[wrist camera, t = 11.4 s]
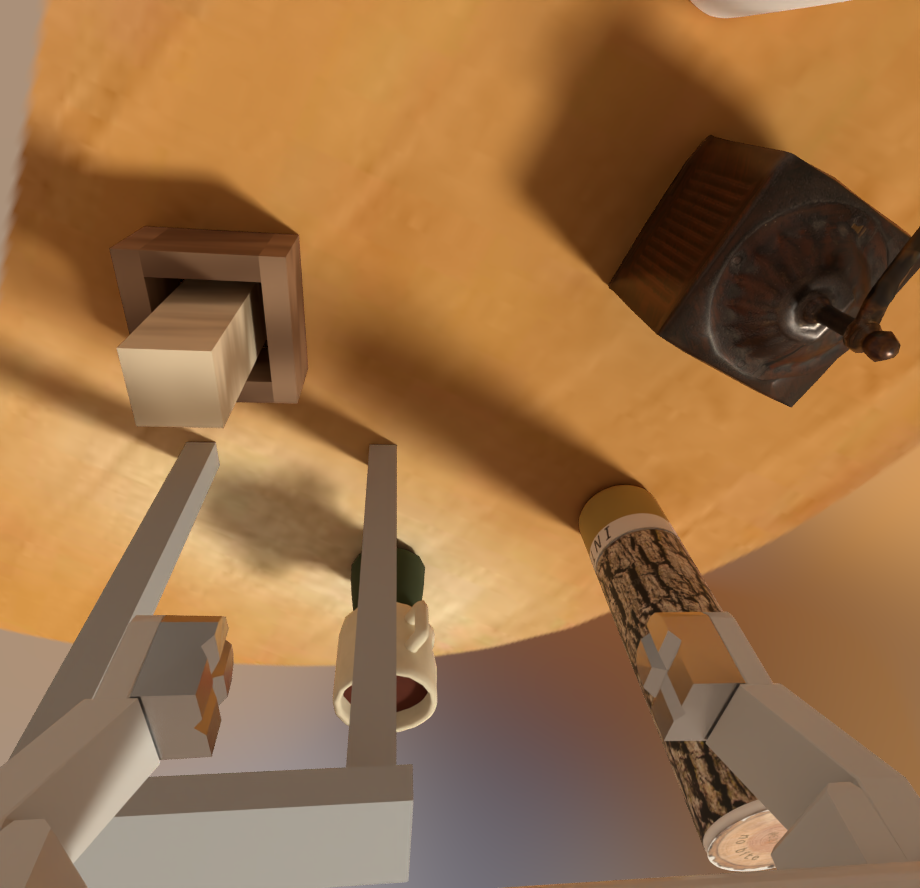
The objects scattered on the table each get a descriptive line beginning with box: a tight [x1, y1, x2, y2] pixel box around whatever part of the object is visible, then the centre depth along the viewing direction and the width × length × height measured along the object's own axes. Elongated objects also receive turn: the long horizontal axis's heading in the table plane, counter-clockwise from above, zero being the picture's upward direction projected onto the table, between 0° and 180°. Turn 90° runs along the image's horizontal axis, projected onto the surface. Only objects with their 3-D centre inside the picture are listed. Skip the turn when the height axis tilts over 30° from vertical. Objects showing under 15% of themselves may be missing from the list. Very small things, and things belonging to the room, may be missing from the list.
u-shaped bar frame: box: [8, 442, 413, 888], centre depth 31 cm, size 6×16×27 cm, turn 86°
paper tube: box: [579, 485, 788, 871], centre depth 39 cm, size 7×7×25 cm
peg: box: [117, 279, 267, 428], centre depth 32 cm, size 4×4×12 cm
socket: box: [109, 226, 308, 403], centre depth 35 cm, size 9×9×5 cm
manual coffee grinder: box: [608, 135, 920, 407], centre depth 30 cm, size 16×11×18 cm
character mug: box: [333, 548, 437, 732], centre depth 45 cm, size 11×7×13 cm, turn 147°
